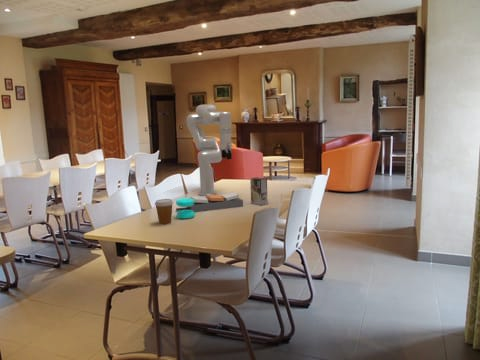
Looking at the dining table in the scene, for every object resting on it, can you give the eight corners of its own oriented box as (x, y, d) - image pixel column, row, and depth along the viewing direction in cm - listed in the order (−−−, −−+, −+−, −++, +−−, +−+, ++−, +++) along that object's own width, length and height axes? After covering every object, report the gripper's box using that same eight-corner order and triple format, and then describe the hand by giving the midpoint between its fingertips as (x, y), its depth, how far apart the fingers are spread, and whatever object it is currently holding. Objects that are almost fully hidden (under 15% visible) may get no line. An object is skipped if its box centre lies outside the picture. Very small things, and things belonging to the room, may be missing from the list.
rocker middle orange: (206, 197, 248) (206, 194, 248) (218, 197, 251) (218, 195, 251) (211, 200, 238) (211, 197, 238) (223, 200, 241) (223, 197, 241)
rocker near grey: (190, 199, 244) (190, 196, 244) (202, 199, 247) (203, 197, 247) (194, 202, 235) (195, 199, 234) (207, 203, 238) (208, 200, 237)
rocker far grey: (221, 197, 252) (220, 195, 251) (232, 194, 254) (232, 191, 254) (226, 200, 242) (226, 198, 242) (238, 197, 245) (238, 194, 244)
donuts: (181, 197, 228) (197, 198, 225) (182, 214, 230) (197, 215, 226) (172, 200, 219) (188, 201, 216) (173, 218, 221) (189, 219, 217)
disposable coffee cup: (158, 220, 217) (157, 199, 215) (175, 220, 217) (174, 198, 215) (154, 225, 208) (152, 202, 206) (172, 225, 208) (170, 202, 206)
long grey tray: (174, 209, 243) (173, 202, 242) (235, 202, 257) (235, 195, 256) (178, 214, 231) (178, 206, 230) (243, 206, 245) (242, 198, 244)
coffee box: (268, 203, 251) (267, 178, 248) (261, 205, 246) (261, 179, 244) (257, 201, 257) (256, 177, 254) (250, 203, 252) (249, 178, 250)
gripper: (215, 131, 260) (216, 157, 263) (224, 132, 244) (225, 160, 247) (226, 130, 263) (227, 156, 266) (235, 131, 247) (236, 159, 250)
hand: (226, 158), depth 256 cm, fingers open, 9 cm apart
